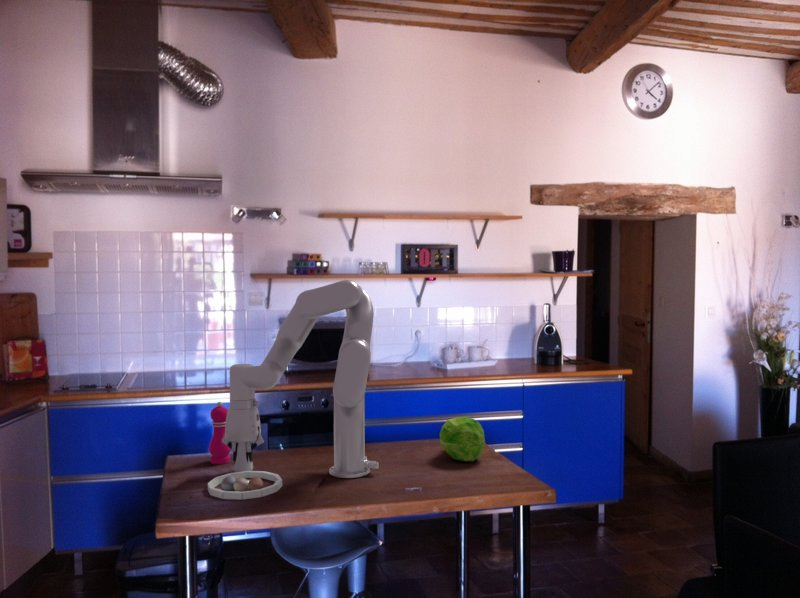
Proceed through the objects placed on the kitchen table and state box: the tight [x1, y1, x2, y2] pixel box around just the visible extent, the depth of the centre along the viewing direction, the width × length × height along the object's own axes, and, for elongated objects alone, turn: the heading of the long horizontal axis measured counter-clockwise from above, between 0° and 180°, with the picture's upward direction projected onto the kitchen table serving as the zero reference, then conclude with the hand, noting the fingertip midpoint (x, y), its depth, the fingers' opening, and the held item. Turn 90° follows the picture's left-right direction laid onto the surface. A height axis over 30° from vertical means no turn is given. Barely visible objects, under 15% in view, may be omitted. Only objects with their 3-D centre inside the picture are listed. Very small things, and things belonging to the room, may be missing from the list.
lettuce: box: [439, 416, 486, 462], centre depth 220 cm, size 15×22×15 cm
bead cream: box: [233, 478, 248, 492], centre depth 181 cm, size 4×4×4 cm
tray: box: [207, 470, 283, 500], centre depth 184 cm, size 20×20×3 cm
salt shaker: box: [233, 439, 254, 473], centre depth 200 cm, size 6×6×13 cm
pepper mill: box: [208, 401, 232, 465], centre depth 215 cm, size 7×7×20 cm
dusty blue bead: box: [221, 476, 235, 491], centre depth 182 cm, size 4×4×4 cm
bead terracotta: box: [248, 477, 264, 491], centre depth 181 cm, size 4×4×4 cm
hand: (243, 463), depth 200 cm, fingers closed on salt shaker, 3 cm apart
